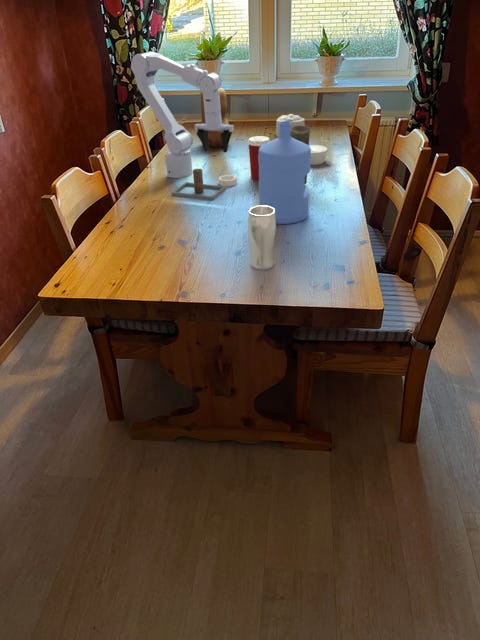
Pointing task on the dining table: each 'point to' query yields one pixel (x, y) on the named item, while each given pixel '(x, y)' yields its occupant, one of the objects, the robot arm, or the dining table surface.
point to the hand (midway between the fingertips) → (216, 151)
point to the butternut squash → (215, 136)
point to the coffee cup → (255, 154)
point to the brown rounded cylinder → (301, 136)
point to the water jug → (284, 176)
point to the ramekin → (318, 154)
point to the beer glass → (262, 236)
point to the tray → (177, 193)
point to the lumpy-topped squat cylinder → (291, 118)
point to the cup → (227, 180)
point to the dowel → (198, 181)
